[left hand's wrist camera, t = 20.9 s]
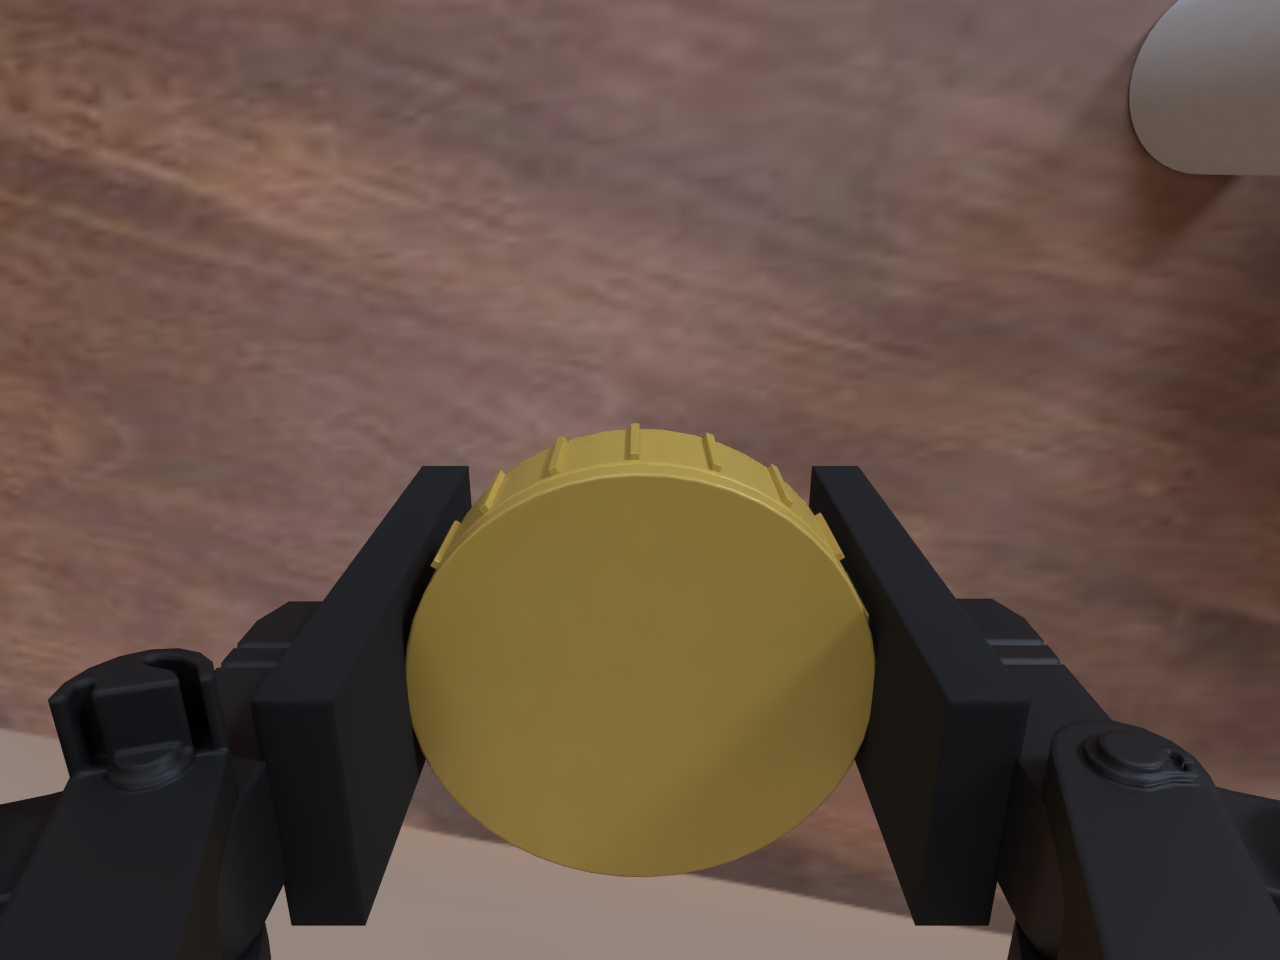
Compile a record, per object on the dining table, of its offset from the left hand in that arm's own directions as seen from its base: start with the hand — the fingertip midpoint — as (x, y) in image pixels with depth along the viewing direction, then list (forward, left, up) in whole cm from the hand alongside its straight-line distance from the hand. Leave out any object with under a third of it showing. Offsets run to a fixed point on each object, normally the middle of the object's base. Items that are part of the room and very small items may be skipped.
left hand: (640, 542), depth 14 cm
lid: (0, 0, +4) cm, 4 cm away
